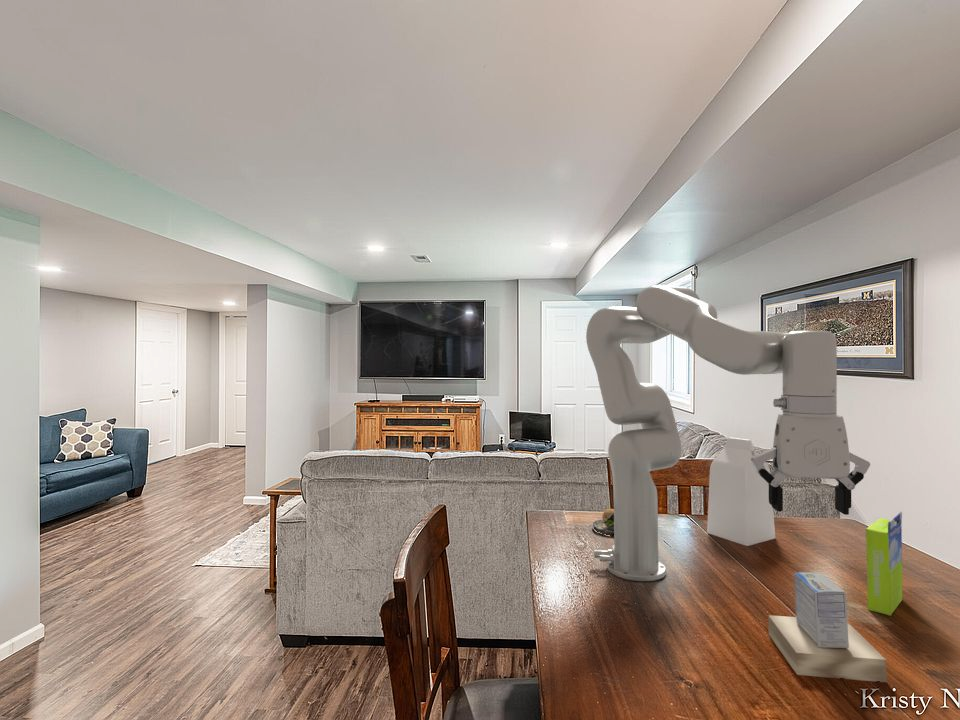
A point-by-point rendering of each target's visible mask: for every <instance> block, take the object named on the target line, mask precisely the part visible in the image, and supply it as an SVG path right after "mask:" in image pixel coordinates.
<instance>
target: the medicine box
mask: <svg viewBox="0 0 960 720" xmlns="http://www.w3.org/2000/svg"><path fill="white" fill-rule="evenodd" d="M793 579H794V593H795V594H794V596H795V617H796V619H797V623H798V625H799V626H800V627H801V628H802V629H803V630H804V631H805V632H806V633H807V634H808V636H809V637H810V638H811V639H812V640H813V641H814V642H815V643H816V644H817V645H818V647H821V648H845V649H847V648H849V640H848V623H849V622H848V609H847V595H846V591H844V590H843V589H842V588H840V587H839V586H838V585H837V584H836V583H835V582H833V580H831V579H829V577H827V576H826V575H825V574H824V573H821V572H812V571H810V572H808V571H807V572H805V571H804V572H801V571H799V572H794V578H793ZM847 622H848V623H847Z"/></svg>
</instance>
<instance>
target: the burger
mask: <svg viewBox="0 0 960 720" xmlns="http://www.w3.org/2000/svg"><path fill="white" fill-rule="evenodd" d="M605 508H606V509H605V510H604V512H603V514H602V517H601V518H602V519H599V520H598V519H597V520H595V521H593V523H592V526H593V527H594V529H595V530H596V531H597V532H600V533H602V534H606V535H610V536H611V537H612V536H614V535H613V534H614V508H608V507H607V506H605ZM602 534H601V535H602Z"/></svg>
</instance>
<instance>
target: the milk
mask: <svg viewBox="0 0 960 720" xmlns="http://www.w3.org/2000/svg"><path fill="white" fill-rule="evenodd" d="M755 449H756V448H755V447H754V445H753V443H752V440H751V439H747V438H738V437H731V436H730V437H727V439H726V442H725V444H724V446H723V448H722V449H721V451H720V452H719V453H718V454H717V455H716V457H715V458H714V459H713V461H711V464H710V465H709V483H708V484H709V485H708V500H707V501H708V505H707V527H706V530H707V531H706V533H707V534H709V535H711V536H715V537H719V538H722V539H724V540H728V541H730V542H734V543H737V544H740V545H742V546H746V547H749V546H752V545H756V544H759V543H763V542H767V541H771V540H774V539H775V540H776V530H775V516H774V515H775V514H774V508H773V507H772V505H771V504H770V503H769V483H767V482H766V481H765V480H764V479H763V478H762V477H761V476H760V475H759V474H758V473H757V470H756V469H755V467H754V465H753V463H752V461H751V458H752V457H754V456H756V455H758V454H759V453H758V452H757V451H755ZM764 467H765V469H766V470H767V471H768V472H769V473H771V469H770V466H769V464H768V463H767V461H766V462H764Z"/></svg>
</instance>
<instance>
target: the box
mask: <svg viewBox="0 0 960 720" xmlns="http://www.w3.org/2000/svg"><path fill="white" fill-rule="evenodd" d="M902 520H903V512H902V511H900V512H899V513H898V514H897V515H895V516H894V517H893V518H892V519H888V518H887V519H886V518H878V519H877V520H875V521H874V522H873V523H872V524H870V525H869V526H868V527H867V528H865V543H866V544H865V545H866V575H867V577H866V578H867V579H866V581H867V587H866V588H867V610H868V611H871V612H874V613H878V614H882V615H885V616H890V617H891V616H892V615H893V613H894V612H895V610H896V609H897V608H898V607H899V605H900V603H901V602H902V600H903V539H902V538H903V535H902V527H903V526H902V522H903V521H902Z"/></svg>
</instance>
